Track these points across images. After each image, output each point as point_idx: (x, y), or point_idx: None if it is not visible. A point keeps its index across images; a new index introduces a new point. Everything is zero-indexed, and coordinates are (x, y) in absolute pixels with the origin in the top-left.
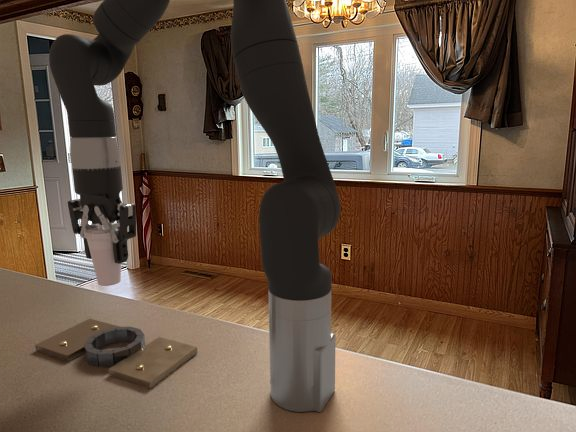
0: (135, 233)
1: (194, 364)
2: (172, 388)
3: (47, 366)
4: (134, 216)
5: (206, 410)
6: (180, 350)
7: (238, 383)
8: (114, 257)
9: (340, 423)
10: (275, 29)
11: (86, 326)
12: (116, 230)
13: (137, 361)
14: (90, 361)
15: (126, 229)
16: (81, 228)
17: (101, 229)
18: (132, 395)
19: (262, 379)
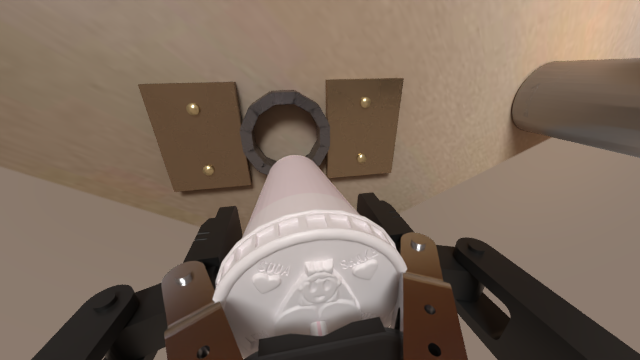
0: (492, 252)
1: (408, 105)
2: (408, 156)
3: (238, 199)
4: (611, 349)
5: (455, 165)
6: (385, 99)
7: (473, 114)
8: None
9: None
10: None
11: (173, 112)
12: (387, 283)
13: (348, 149)
14: None
15: (506, 319)
16: (157, 347)
17: (325, 328)
18: (376, 184)
19: (498, 93)
